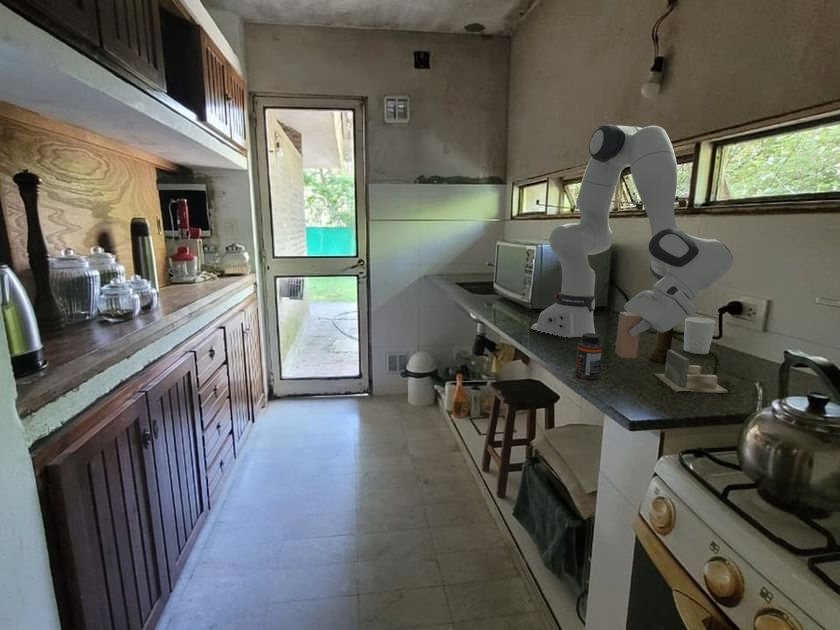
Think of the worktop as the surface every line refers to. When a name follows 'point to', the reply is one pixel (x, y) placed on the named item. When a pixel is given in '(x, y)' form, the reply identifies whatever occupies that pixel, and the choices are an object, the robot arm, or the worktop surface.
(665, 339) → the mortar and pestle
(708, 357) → the worktop surface
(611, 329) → the worktop surface
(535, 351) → the worktop surface
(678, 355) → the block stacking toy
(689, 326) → the white cup
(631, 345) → the pink rectangular block
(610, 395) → the worktop surface
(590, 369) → the supplement bottle
